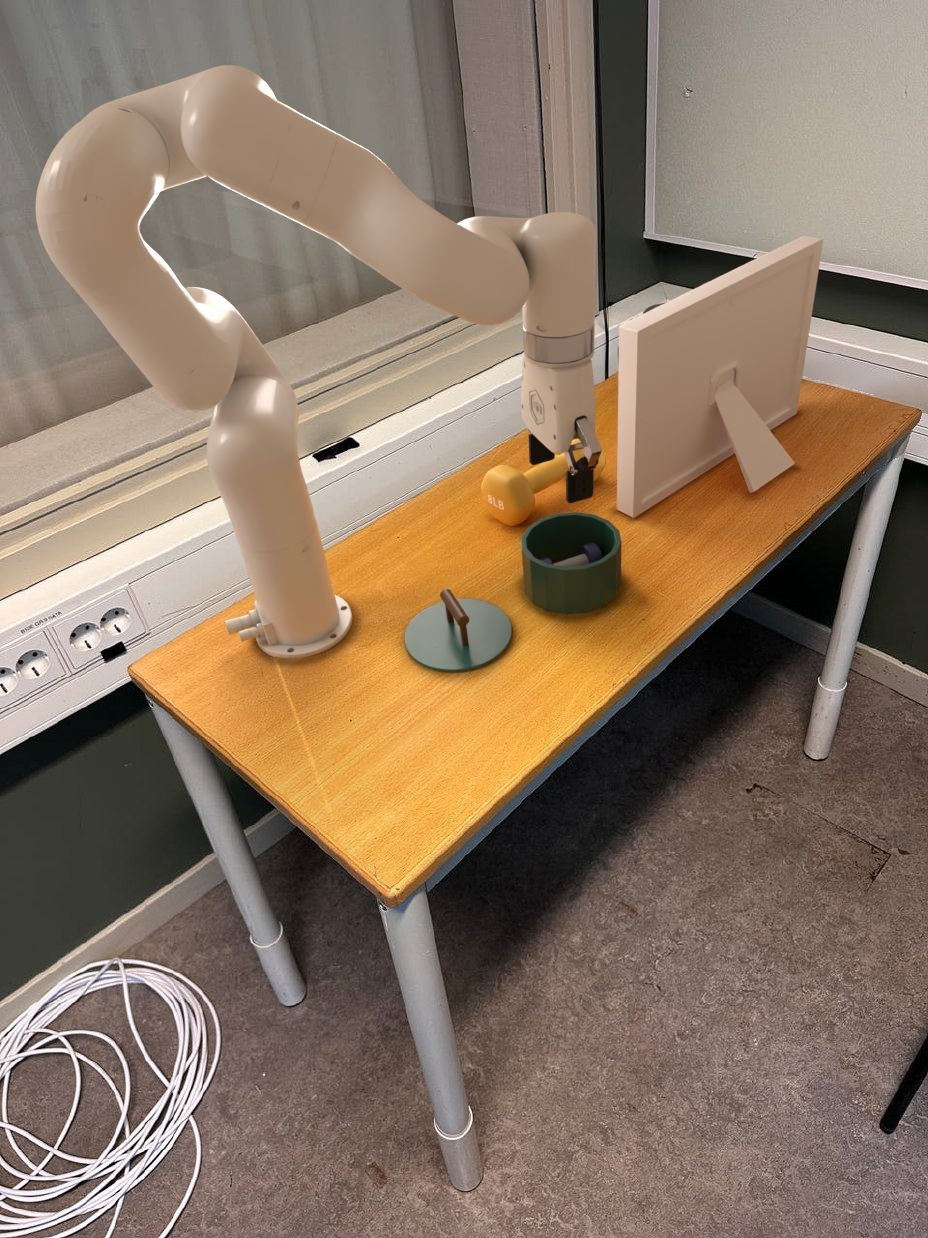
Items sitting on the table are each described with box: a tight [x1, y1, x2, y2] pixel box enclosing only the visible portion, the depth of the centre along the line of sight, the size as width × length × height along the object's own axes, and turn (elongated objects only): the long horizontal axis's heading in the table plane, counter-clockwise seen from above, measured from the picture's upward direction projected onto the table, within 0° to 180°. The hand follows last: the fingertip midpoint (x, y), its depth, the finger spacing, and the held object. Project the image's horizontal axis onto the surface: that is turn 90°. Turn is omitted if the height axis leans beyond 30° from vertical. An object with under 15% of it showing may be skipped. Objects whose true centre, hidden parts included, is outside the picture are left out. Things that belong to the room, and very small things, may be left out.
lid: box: [403, 588, 513, 673], centre depth 109 cm, size 13×13×6 cm
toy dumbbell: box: [539, 542, 603, 567], centre depth 115 cm, size 8×4×4 cm, turn 112°
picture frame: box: [616, 235, 824, 519], centre depth 125 cm, size 40×12×28 cm, turn 131°
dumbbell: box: [480, 436, 607, 527], centre depth 130 cm, size 19×9×8 cm, turn 129°
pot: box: [520, 511, 623, 615], centre depth 114 cm, size 12×12×8 cm
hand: (560, 479), depth 106 cm, fingers open, 9 cm apart
